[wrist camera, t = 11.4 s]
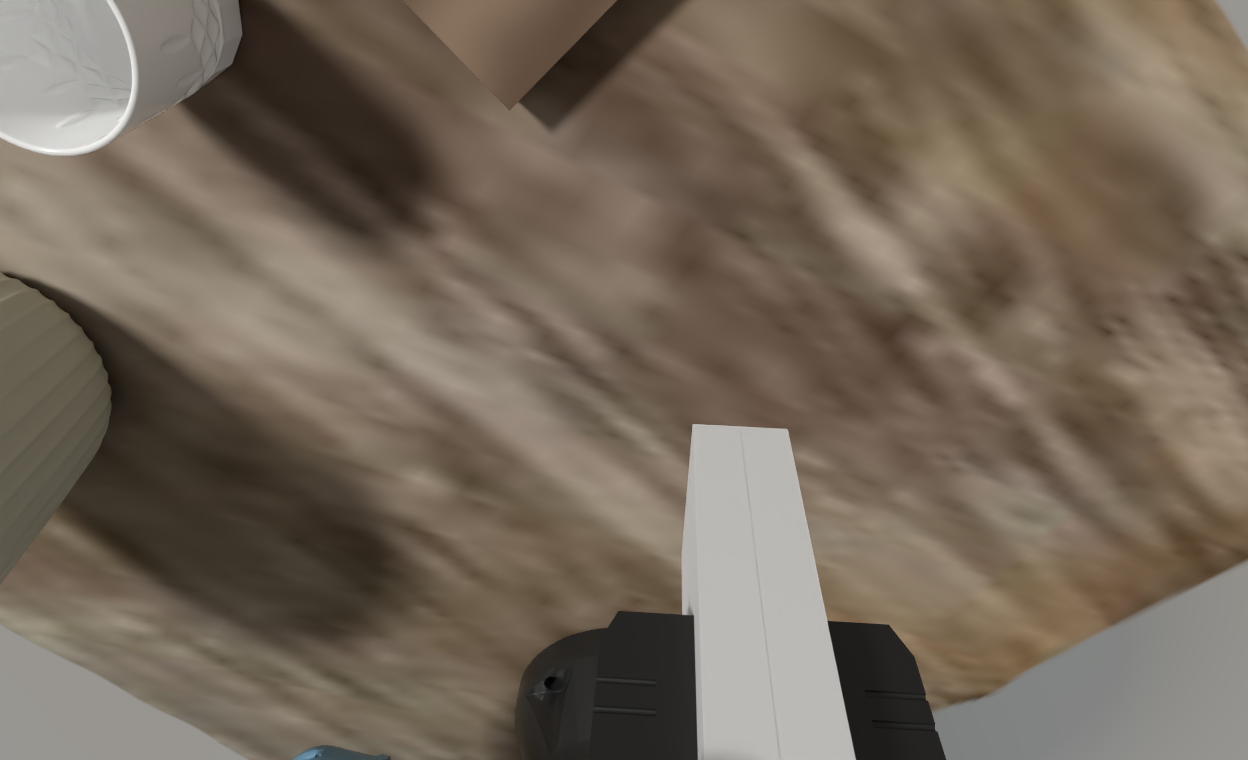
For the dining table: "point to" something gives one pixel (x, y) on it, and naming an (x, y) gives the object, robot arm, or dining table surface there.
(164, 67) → the white cup
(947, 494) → the dining table surface
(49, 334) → the canister
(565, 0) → the stand
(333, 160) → the dining table surface
